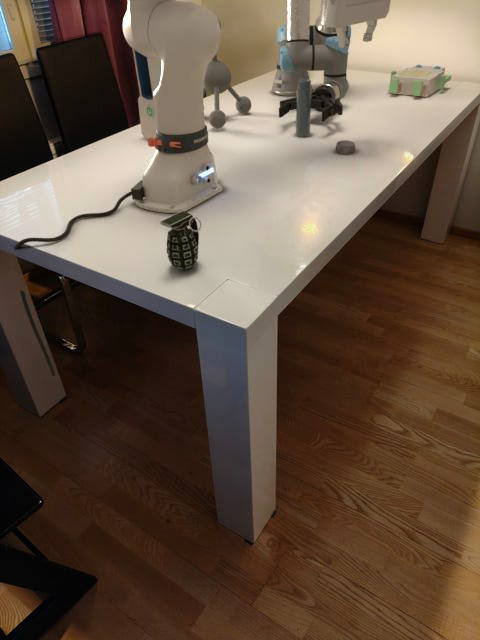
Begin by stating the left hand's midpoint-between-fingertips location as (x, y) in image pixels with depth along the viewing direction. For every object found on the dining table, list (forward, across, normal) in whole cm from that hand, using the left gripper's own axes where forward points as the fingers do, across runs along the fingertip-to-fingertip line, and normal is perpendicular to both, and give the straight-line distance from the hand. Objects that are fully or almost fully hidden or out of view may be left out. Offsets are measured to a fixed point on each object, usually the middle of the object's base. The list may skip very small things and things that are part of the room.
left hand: (355, 44), depth 120 cm
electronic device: (+26, -28, +50) cm, 63 cm away
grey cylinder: (+26, +2, +19) cm, 32 cm away
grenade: (+26, -69, -18) cm, 76 cm away
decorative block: (+26, +69, +22) cm, 77 cm away
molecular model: (+26, -2, +51) cm, 57 cm away
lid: (+24, 0, 0) cm, 25 cm away
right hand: (+20, +1, +18) cm, 27 cm away
